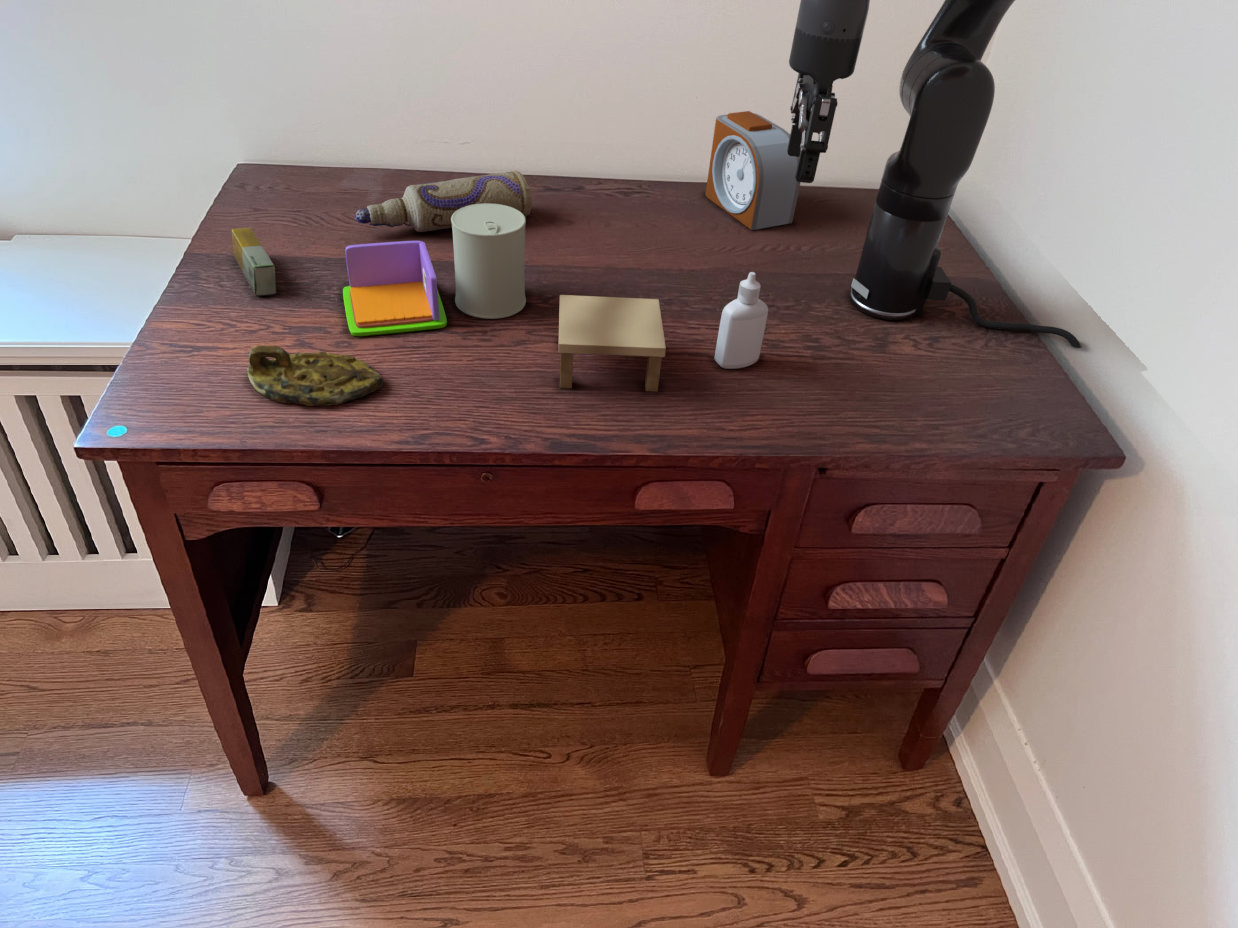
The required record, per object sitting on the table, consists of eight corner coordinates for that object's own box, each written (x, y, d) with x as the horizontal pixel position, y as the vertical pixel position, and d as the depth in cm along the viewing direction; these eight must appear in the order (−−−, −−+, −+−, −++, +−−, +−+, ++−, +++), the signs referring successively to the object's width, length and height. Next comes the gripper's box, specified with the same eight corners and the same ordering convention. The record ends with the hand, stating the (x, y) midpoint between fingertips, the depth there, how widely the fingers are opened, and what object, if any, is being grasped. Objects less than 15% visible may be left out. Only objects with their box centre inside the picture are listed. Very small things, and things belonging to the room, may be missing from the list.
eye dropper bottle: (760, 373, 108) (778, 284, 100) (714, 368, 108) (728, 280, 100) (757, 353, 111) (775, 266, 103) (712, 349, 111) (727, 262, 103)
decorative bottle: (515, 204, 140) (515, 162, 135) (533, 224, 135) (533, 182, 130) (350, 225, 130) (344, 181, 126) (363, 248, 125) (357, 203, 121)
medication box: (278, 295, 114) (276, 266, 111) (256, 297, 112) (253, 268, 110) (253, 253, 121) (250, 225, 119) (232, 255, 120) (229, 227, 117)
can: (460, 322, 112) (455, 233, 104) (450, 286, 118) (445, 201, 111) (532, 316, 114) (532, 229, 106) (518, 282, 121) (518, 197, 113)
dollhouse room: (434, 282, 119) (431, 235, 114) (449, 328, 110) (446, 279, 106) (341, 290, 116) (334, 241, 111) (349, 338, 107) (342, 287, 103)
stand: (653, 342, 111) (658, 299, 107) (660, 393, 103) (666, 348, 99) (558, 338, 110) (559, 294, 106) (556, 389, 102) (558, 343, 98)
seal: (391, 370, 104) (260, 364, 103) (388, 334, 102) (254, 327, 100) (376, 410, 96) (235, 404, 95) (373, 372, 94) (227, 365, 93)
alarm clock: (699, 193, 148) (710, 111, 140) (741, 187, 152) (754, 106, 143) (749, 230, 138) (764, 144, 130) (792, 222, 142) (810, 138, 133)
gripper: (874, 47, 94) (838, 194, 104) (852, 14, 105) (821, 150, 115) (804, 40, 93) (775, 188, 104) (789, 8, 104) (763, 144, 115)
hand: (799, 168), depth 109 cm, fingers open, 8 cm apart
